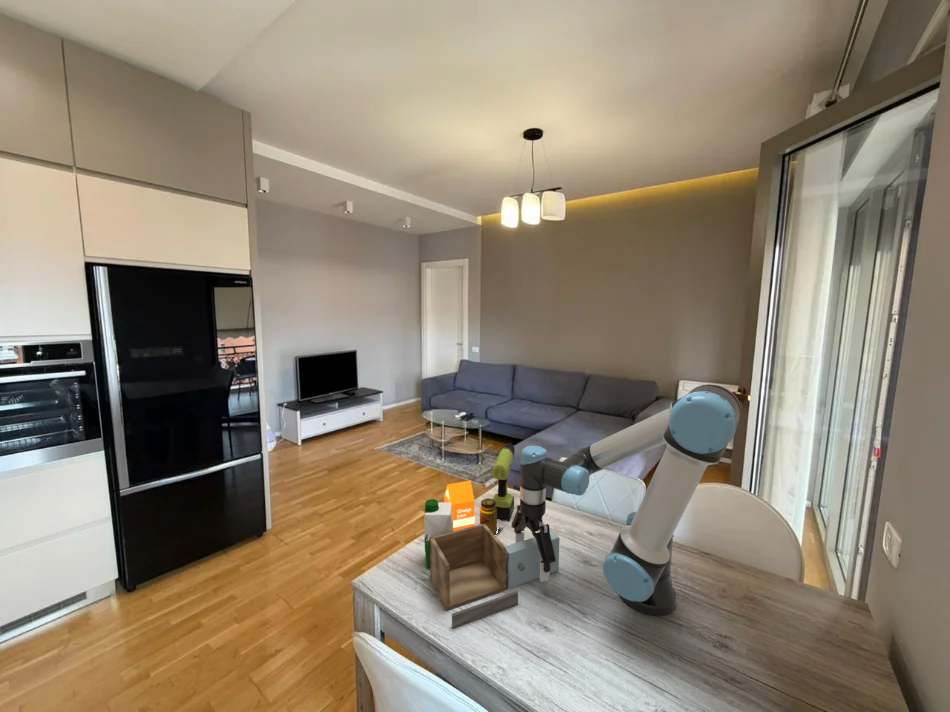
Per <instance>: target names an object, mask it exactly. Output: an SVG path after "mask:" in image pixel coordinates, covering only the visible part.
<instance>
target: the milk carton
mask: <svg viewBox="0 0 950 712" xmlns="http://www.w3.org/2000/svg"><path fill="white" fill-rule="evenodd" d="M424 505H425V506H424V521H423V522H424V526H423V527H424V553H425V554H424V555H425V563H426V569H430V537H433V536H437V535H440V534H444V533H448V532H452V531H453V513H452V504H451V503H444V501H443V502H442V501H441V502H439V501H438V500H437V499H435V498H434V499H433V498H430V499H428V500H426V501H425V504H424Z"/></svg>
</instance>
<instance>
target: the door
mask: <svg viewBox="0 0 950 712" xmlns="http://www.w3.org/2000/svg"><path fill="white" fill-rule="evenodd" d="M550 536H551V541H552V545H553V550H554V554H555V559H556V561H555V562H553V563H550V572H549V575H550V574H552V573H555V572H558V571H559V569H560V568H559V565H560V563H559V562H560V536H558V534H556V533H555V532H554V531H550ZM504 547H505V548H506V550H507V552H508V553H509V561H507V562H506V570H507V571H508V572H509V580H508V581H506V589H512V588H514V587H517V586H520V585H523V584H526V583H527V582H530V581H534V580H535V579H540V560H541V559H542V557H541V554H540V551H539V548H538V545H537V542H536V539H535V537H534V536H533V537H530V538H528V539H524V541H520V542H517V543H516V542H515V543H511V544H509V545H504Z"/></svg>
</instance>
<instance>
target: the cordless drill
mask: <svg viewBox="0 0 950 712" xmlns="http://www.w3.org/2000/svg"><path fill="white" fill-rule="evenodd" d="M515 451H516V450H515V446H514V444H512V443H510V442H509V443H506V444H505V445H504V446H503V447H502V448H501V450H500V451H499V453H498V455H497V458H496V461H495V462H494V465H493V468H492V469H491V470H492V471H491V476H492V477H493V478H494V479H495V480H498V482H497V483H498V484H497V493H494V495H493V497H492V499H493V500H494V501H495V502H496V504H495V505H496V509H497V519H500V520H499V521H504V520H505V522H510V521H511V519H512V515H513V514H514V513H513V512H514V510H515V496H514V495H512V494H511V493H509V492H508V479H509V474H510V472H511V469H512V466H513V463H514V460H515V459H514V458H515V453H516V452H515Z"/></svg>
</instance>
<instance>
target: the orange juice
mask: <svg viewBox="0 0 950 712" xmlns="http://www.w3.org/2000/svg"><path fill="white" fill-rule="evenodd" d="M443 496H444V497H443V498H444V500H443V502H444V503H451V504H452V513H453V531H456V530H460V529H464V528H468V527H471V526H475V525H476V524H475V523H476V519H475V517H476V514H475V502H476V501H475V497H474V491H473V486H472V481H471V480H467V481H460V482H454V483H448V484H447V485H446V488H445V492H444V495H443Z"/></svg>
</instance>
